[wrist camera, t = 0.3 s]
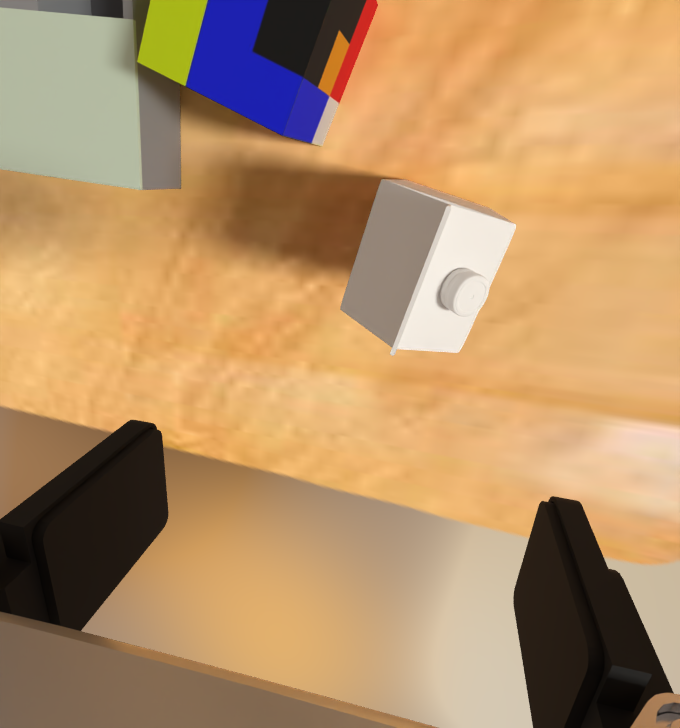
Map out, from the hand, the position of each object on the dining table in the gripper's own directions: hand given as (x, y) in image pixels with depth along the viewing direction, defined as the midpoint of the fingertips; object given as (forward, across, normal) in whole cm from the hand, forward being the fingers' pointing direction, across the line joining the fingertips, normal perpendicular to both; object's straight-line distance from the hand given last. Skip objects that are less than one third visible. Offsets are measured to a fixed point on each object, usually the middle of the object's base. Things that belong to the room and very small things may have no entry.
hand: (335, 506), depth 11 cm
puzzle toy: (+31, +12, -16) cm, 37 cm away
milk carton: (+31, -1, -3) cm, 31 cm away
